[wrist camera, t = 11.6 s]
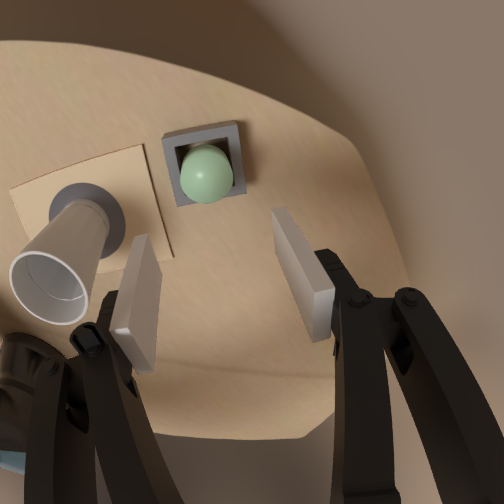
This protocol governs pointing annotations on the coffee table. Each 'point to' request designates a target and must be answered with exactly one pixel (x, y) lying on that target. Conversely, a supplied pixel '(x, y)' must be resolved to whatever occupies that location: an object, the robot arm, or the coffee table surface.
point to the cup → (61, 264)
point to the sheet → (100, 202)
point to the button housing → (198, 135)
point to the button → (206, 174)
